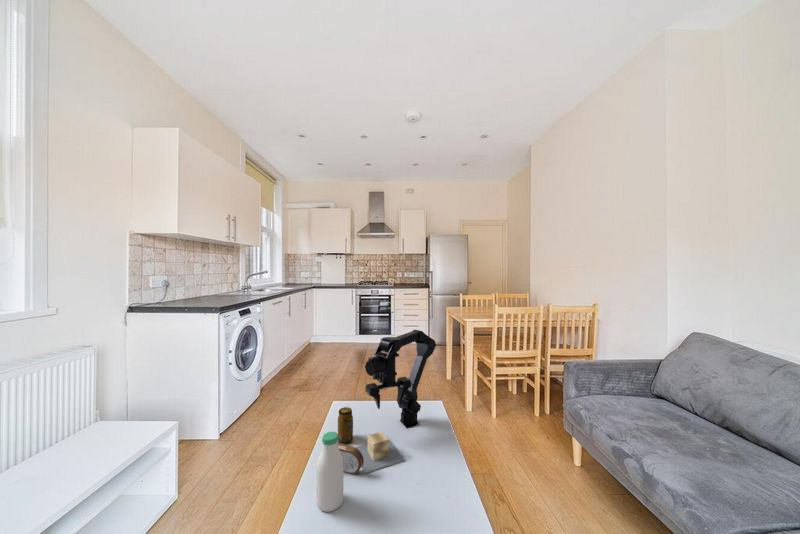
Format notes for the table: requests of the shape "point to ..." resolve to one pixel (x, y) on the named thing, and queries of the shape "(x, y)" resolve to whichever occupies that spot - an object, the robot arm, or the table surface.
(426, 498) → the table surface
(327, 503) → the milk bottle
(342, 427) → the condiment
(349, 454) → the tin
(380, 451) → the oak cube
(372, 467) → the slate mat
